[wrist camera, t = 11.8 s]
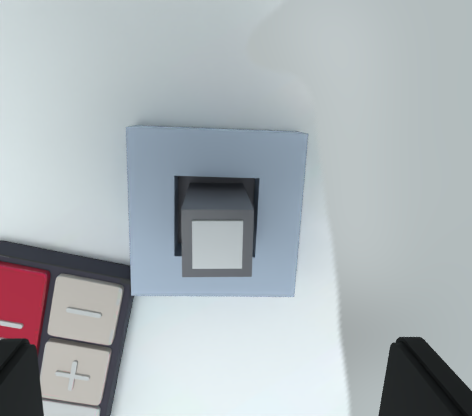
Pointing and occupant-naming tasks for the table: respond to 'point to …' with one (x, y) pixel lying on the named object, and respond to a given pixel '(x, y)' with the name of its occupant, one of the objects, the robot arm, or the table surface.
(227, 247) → the block
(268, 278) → the outlet plate
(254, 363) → the table surface
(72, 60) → the table surface
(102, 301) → the calculator
